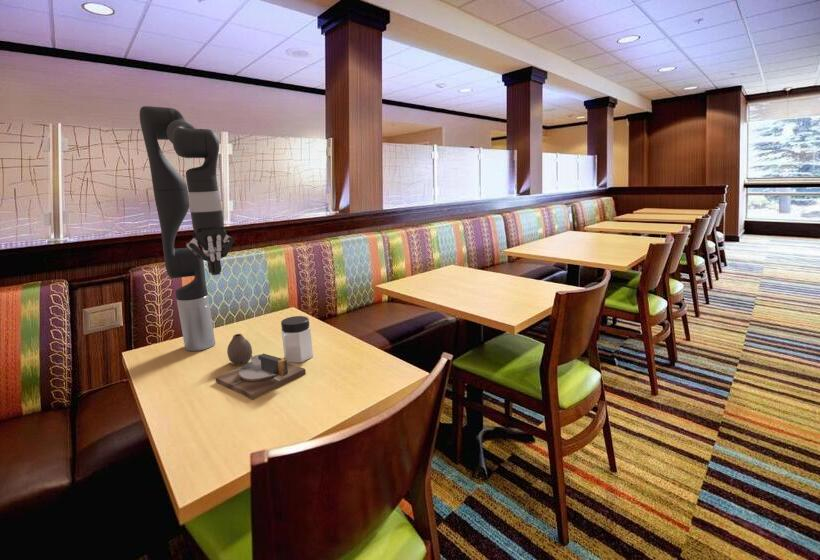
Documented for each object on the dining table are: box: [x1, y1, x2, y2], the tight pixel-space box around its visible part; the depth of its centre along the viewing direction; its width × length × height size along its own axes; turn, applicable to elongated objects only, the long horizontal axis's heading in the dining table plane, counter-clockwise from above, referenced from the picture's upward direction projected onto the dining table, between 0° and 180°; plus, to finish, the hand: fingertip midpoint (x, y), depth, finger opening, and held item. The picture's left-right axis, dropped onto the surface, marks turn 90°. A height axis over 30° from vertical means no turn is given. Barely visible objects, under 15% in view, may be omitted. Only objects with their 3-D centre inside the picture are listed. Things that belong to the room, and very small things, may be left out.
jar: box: [280, 315, 314, 363], centre depth 130 cm, size 9×8×12 cm
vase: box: [226, 333, 253, 366], centre depth 128 cm, size 7×7×9 cm
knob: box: [239, 353, 288, 382], centre depth 116 cm, size 16×11×6 cm
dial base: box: [214, 362, 307, 400], centre depth 118 cm, size 17×17×2 cm
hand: (215, 274), depth 115 cm, fingers closed
